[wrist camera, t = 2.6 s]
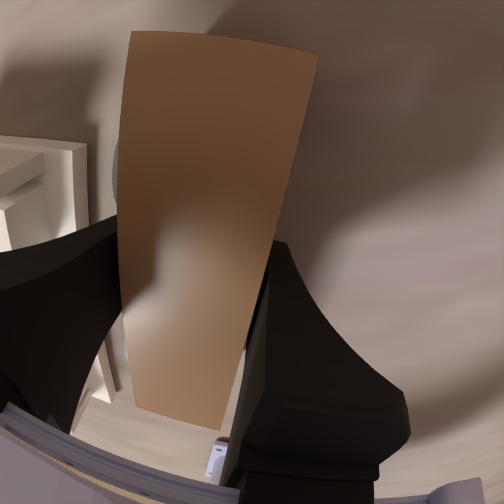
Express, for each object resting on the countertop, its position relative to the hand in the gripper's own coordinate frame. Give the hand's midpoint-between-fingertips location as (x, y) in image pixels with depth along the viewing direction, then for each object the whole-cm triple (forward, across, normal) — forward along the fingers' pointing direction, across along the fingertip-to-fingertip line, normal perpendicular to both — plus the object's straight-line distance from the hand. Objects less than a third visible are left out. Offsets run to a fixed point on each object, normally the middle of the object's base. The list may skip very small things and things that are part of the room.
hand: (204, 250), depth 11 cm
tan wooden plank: (+2, 0, 0) cm, 2 cm away
